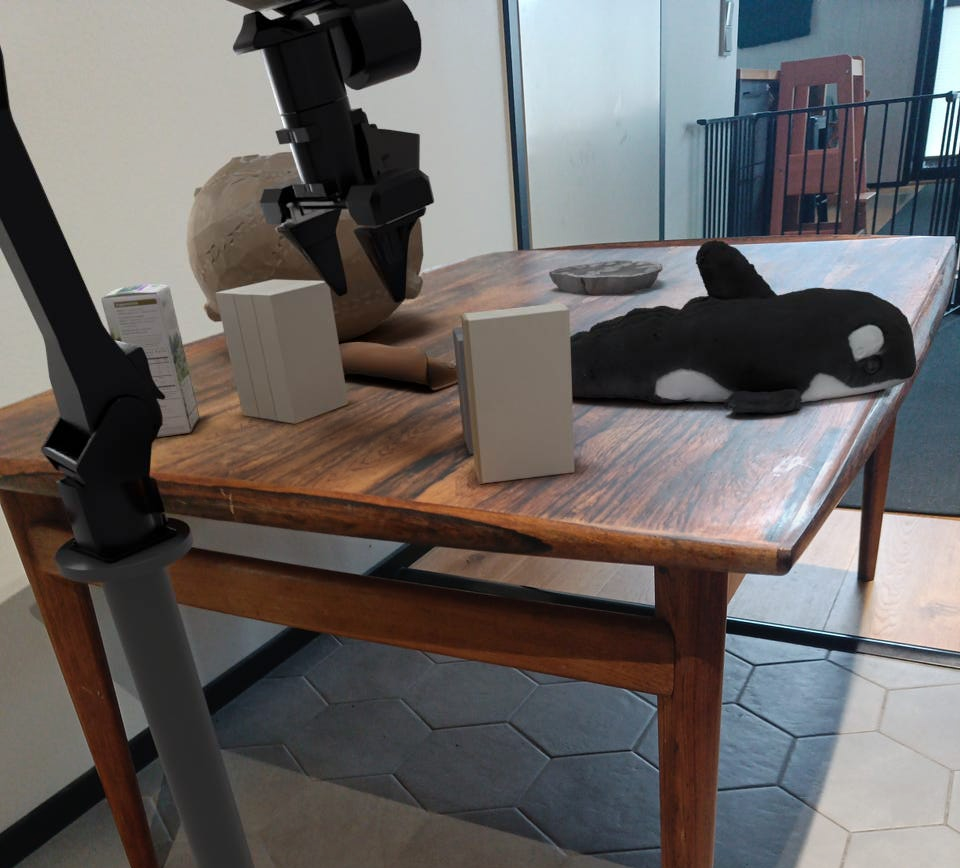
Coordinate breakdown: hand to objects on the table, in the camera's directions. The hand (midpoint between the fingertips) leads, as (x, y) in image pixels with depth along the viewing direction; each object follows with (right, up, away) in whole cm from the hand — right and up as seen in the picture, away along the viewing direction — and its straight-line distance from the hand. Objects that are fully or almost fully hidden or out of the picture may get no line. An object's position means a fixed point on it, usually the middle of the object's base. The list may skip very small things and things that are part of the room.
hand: (370, 298), depth 81 cm
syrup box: (-24, -9, +15) cm, 29 cm away
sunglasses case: (0, 0, +27) cm, 27 cm away
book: (+14, -17, -7) cm, 23 cm away
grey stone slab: (+32, +29, +70) cm, 83 cm away
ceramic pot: (-14, +14, +54) cm, 57 cm away
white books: (-11, -6, +18) cm, 22 cm away
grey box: (+13, -13, +2) cm, 18 cm away
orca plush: (+33, -5, +12) cm, 35 cm away
